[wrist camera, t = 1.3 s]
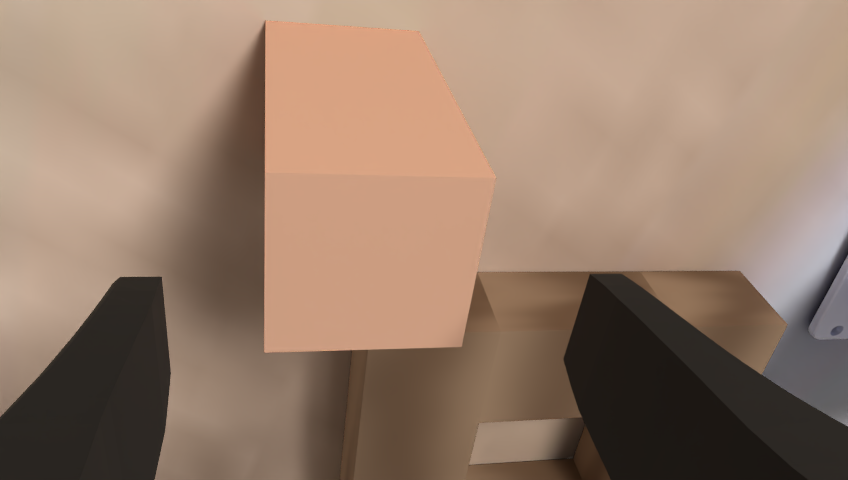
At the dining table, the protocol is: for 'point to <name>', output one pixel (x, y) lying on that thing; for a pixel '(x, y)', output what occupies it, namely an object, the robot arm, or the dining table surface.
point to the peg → (366, 193)
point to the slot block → (518, 373)
